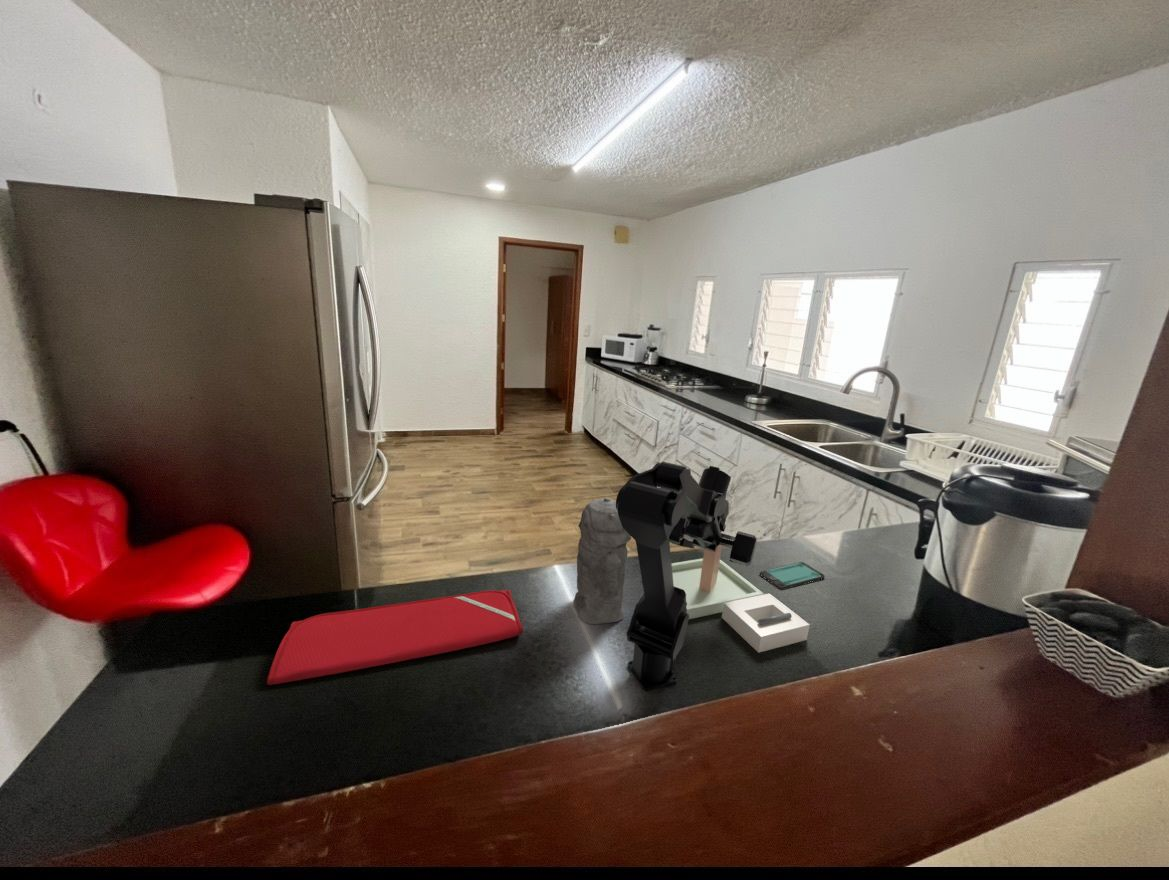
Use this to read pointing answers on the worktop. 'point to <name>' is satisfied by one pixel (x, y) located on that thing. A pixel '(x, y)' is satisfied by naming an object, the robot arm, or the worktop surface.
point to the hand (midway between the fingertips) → (713, 552)
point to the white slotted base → (765, 622)
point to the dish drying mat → (392, 634)
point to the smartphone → (792, 575)
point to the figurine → (601, 563)
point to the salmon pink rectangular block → (710, 569)
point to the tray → (723, 591)
